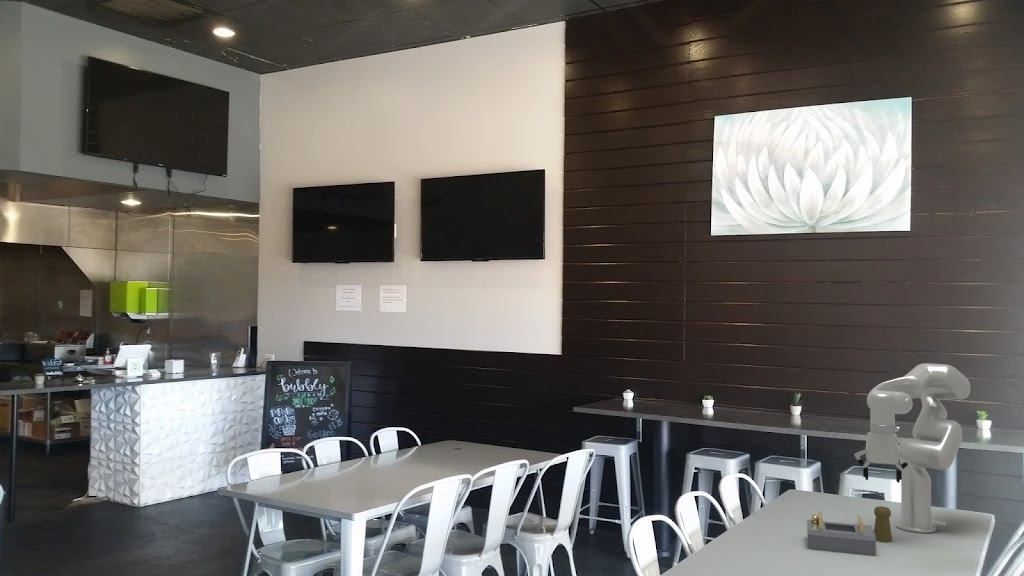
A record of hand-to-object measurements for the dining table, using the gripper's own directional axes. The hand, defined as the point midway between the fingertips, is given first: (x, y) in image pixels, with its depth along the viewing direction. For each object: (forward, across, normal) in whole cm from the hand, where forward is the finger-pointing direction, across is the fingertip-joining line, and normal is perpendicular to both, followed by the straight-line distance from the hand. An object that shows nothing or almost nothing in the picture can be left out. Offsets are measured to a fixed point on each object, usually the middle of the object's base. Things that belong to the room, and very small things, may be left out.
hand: (882, 480), depth 271 cm
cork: (+20, 0, 0) cm, 20 cm away
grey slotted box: (+20, +14, +14) cm, 28 cm away
